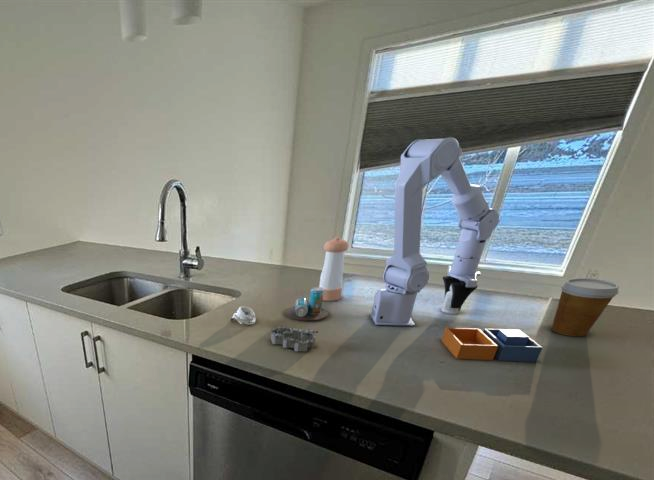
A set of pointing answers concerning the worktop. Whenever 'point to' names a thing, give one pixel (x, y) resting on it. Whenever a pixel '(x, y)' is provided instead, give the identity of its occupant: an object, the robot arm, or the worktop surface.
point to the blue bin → (514, 348)
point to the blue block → (512, 337)
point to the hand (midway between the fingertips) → (452, 304)
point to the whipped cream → (244, 316)
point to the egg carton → (294, 338)
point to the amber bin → (469, 343)
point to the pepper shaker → (333, 269)
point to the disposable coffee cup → (582, 305)
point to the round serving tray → (309, 307)
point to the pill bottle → (449, 304)
